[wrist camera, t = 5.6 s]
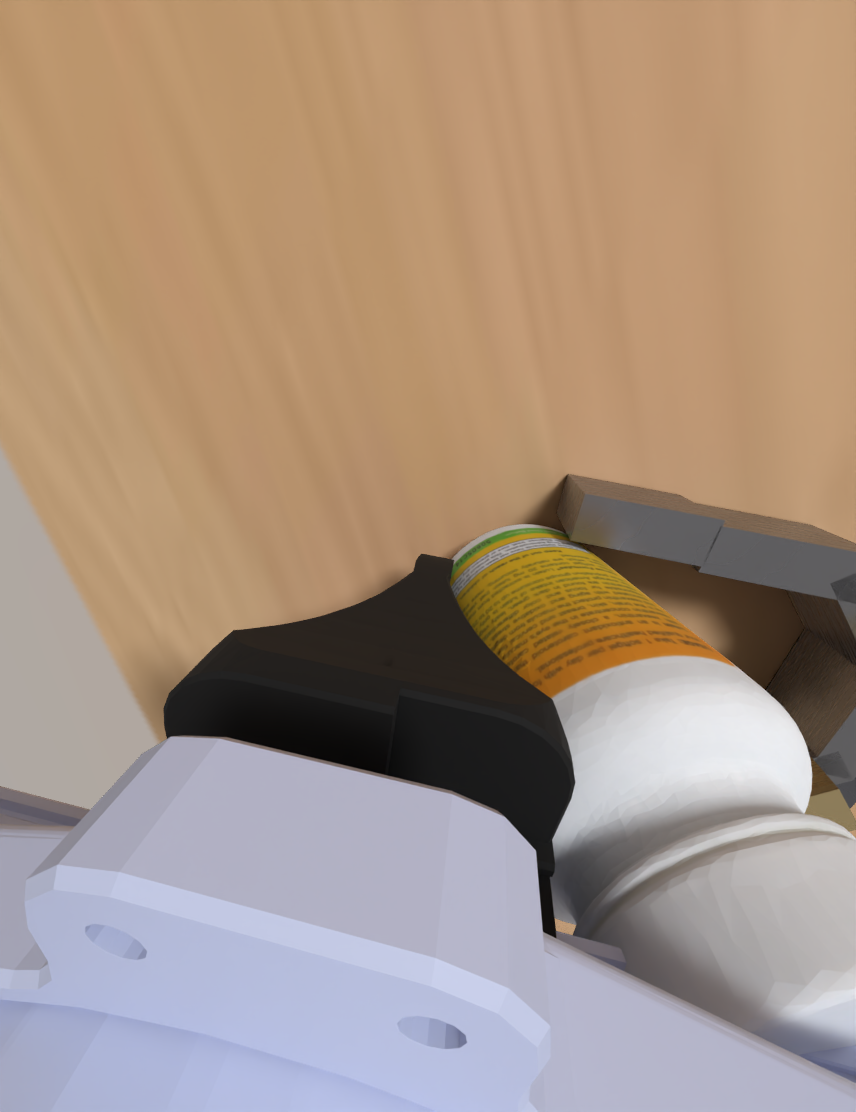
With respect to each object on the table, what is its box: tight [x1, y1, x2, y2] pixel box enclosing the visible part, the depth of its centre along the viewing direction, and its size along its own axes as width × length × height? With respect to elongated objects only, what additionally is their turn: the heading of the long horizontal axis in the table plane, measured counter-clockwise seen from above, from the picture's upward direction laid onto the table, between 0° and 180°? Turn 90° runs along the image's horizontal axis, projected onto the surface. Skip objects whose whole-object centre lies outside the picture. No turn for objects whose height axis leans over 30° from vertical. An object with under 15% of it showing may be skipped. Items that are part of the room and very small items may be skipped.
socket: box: [556, 474, 856, 831], centre depth 11 cm, size 10×13×4 cm
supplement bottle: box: [450, 524, 856, 1055], centre depth 8 cm, size 5×5×10 cm
